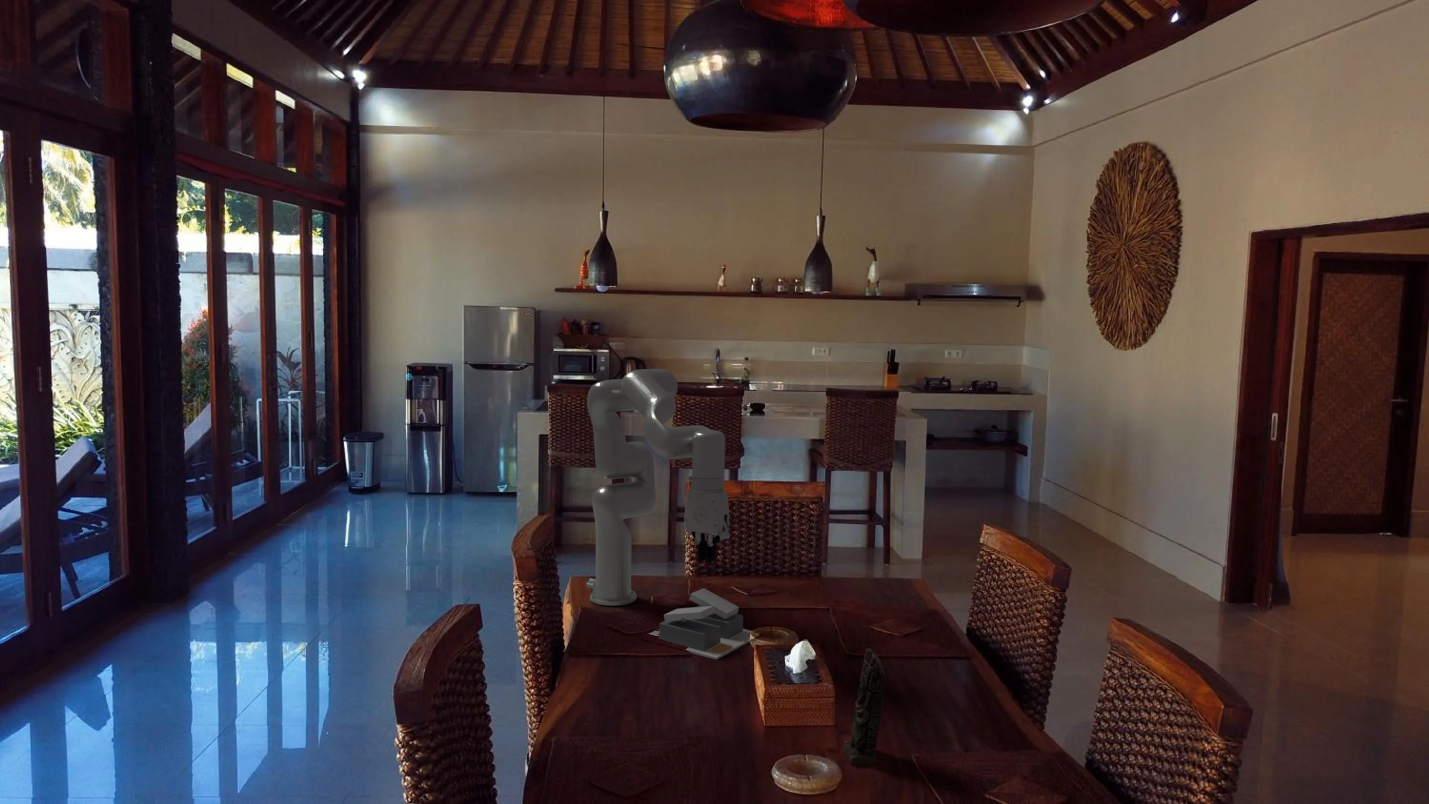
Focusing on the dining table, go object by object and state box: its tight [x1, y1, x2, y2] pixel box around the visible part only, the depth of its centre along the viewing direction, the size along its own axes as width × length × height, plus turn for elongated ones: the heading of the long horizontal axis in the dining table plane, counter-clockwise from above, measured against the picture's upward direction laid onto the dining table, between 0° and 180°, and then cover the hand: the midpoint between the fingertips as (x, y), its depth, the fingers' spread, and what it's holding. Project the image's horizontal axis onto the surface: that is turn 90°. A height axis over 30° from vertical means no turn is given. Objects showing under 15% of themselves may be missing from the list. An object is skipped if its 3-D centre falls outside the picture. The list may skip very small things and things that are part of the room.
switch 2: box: [689, 588, 740, 619], centre depth 244 cm, size 11×6×2 cm, turn 57°
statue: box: [842, 648, 887, 765], centre depth 180 cm, size 7×7×20 cm
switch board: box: [648, 604, 753, 660], centre depth 241 cm, size 22×20×4 cm
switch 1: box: [663, 606, 715, 623], centre depth 236 cm, size 11×6×2 cm, turn 56°
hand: (706, 560), depth 232 cm, fingers closed
